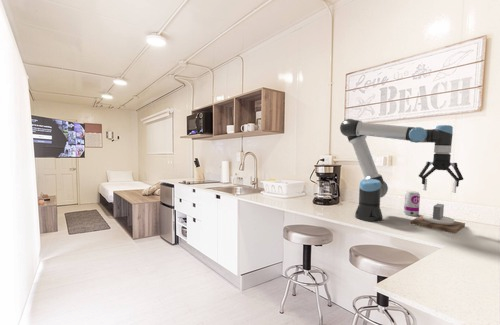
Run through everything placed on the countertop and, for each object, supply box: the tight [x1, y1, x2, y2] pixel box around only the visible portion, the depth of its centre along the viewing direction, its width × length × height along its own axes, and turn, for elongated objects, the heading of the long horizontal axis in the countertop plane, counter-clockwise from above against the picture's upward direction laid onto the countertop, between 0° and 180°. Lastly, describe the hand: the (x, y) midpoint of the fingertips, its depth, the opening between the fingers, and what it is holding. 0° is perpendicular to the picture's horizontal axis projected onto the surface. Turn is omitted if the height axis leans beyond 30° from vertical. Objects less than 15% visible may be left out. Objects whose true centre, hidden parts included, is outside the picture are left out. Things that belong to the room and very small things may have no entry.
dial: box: [422, 203, 455, 225], centre depth 141 cm, size 14×14×9 cm
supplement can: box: [403, 190, 421, 217], centre depth 164 cm, size 8×8×15 cm
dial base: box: [410, 215, 466, 234], centre depth 141 cm, size 20×20×2 cm
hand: (439, 191), depth 141 cm, fingers open, 13 cm apart
